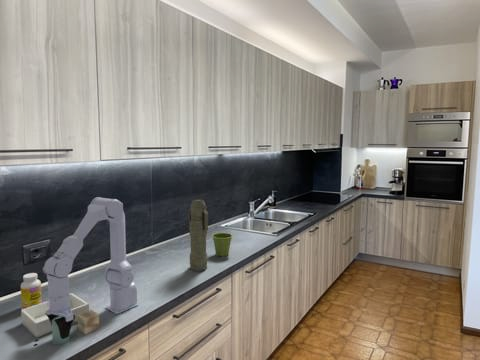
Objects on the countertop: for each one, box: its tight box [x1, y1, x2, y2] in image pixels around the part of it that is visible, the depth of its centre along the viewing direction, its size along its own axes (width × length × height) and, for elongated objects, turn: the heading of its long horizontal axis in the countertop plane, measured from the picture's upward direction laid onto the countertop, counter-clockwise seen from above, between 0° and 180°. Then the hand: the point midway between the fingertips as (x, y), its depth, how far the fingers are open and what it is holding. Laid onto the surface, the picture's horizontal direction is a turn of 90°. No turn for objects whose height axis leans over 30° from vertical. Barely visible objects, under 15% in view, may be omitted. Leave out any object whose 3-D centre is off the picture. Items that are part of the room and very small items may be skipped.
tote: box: [20, 292, 90, 339], centre depth 122 cm, size 18×14×5 cm
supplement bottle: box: [20, 272, 43, 310], centre depth 131 cm, size 7×7×13 cm
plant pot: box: [211, 232, 233, 257], centre depth 193 cm, size 12×12×11 cm
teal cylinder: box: [51, 316, 71, 345], centre depth 110 cm, size 5×5×7 cm
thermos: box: [188, 198, 209, 272], centre depth 171 cm, size 9×12×35 cm
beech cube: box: [77, 309, 100, 335], centre depth 117 cm, size 5×5×5 cm
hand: (61, 334), depth 110 cm, fingers closed on teal cylinder, 5 cm apart
